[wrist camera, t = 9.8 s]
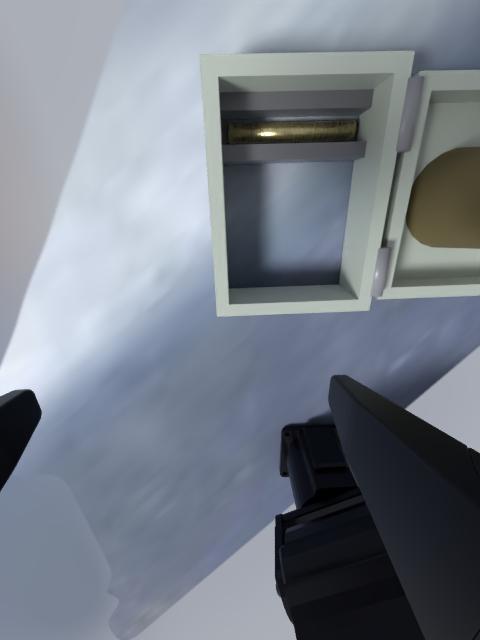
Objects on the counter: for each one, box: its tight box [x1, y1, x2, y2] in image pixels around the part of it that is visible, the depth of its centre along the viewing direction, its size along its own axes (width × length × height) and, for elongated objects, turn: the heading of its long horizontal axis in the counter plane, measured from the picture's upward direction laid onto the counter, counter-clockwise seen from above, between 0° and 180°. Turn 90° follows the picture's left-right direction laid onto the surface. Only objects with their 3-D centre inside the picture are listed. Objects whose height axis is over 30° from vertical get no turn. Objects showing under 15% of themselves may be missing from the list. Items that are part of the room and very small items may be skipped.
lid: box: [374, 70, 480, 299], centre depth 17 cm, size 12×10×3 cm
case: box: [200, 50, 425, 317], centre depth 17 cm, size 13×11×4 cm
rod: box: [228, 121, 356, 144], centre depth 16 cm, size 1×8×1 cm
